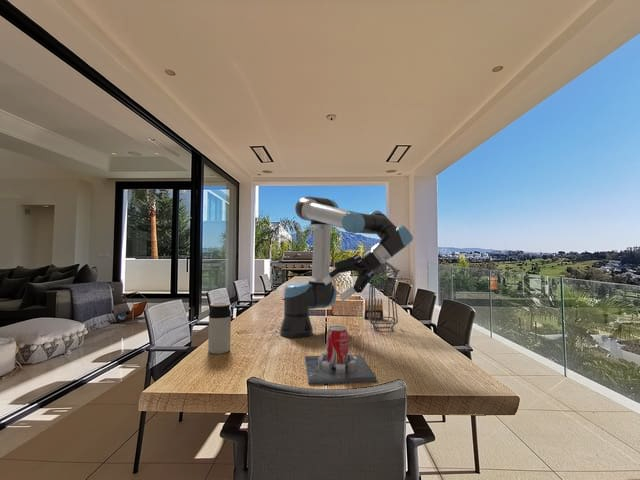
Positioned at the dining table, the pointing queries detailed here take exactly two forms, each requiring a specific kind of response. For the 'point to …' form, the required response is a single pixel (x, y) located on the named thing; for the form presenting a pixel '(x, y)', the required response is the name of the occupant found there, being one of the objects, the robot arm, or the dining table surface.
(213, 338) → the travel mug
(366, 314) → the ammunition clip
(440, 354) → the dining table surface
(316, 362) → the square lugged base plate
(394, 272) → the geometric lantern
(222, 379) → the dining table surface
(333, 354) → the soda can
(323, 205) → the robot arm
